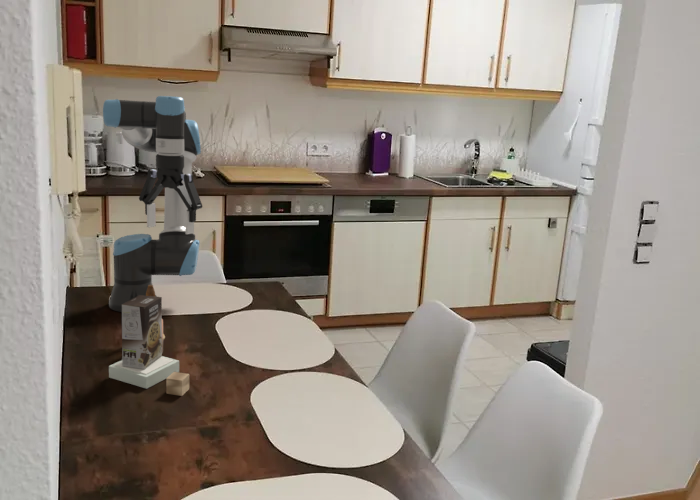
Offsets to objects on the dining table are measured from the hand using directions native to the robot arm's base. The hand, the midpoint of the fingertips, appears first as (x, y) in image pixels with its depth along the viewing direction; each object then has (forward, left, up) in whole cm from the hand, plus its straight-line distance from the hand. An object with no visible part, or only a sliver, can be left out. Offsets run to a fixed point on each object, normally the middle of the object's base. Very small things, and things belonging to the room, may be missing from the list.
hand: (170, 230), depth 187 cm
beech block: (+25, -27, -32) cm, 49 cm away
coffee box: (+11, -24, -29) cm, 39 cm away
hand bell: (-4, -4, -32) cm, 32 cm away
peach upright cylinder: (+3, -12, -32) cm, 34 cm away
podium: (+12, -24, -32) cm, 42 cm away
